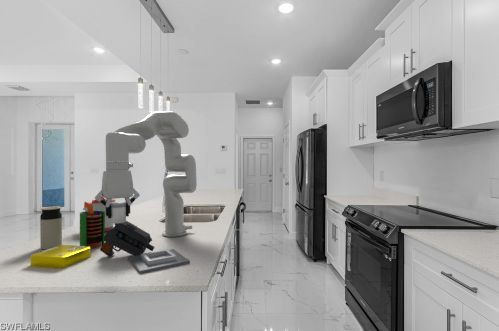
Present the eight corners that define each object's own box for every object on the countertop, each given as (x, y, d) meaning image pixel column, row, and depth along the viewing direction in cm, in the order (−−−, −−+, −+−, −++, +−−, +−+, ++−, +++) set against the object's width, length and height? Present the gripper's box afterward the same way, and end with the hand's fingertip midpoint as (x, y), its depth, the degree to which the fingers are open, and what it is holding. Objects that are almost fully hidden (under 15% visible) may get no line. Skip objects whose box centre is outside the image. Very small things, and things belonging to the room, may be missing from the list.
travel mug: (65, 246, 131) (65, 206, 131) (47, 250, 124) (47, 209, 124) (55, 244, 134) (54, 205, 134) (36, 248, 127) (36, 208, 127)
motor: (91, 250, 124) (91, 204, 124) (74, 249, 126) (73, 203, 126) (107, 243, 134) (107, 201, 134) (91, 243, 136) (90, 201, 136)
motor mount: (173, 251, 122) (173, 245, 122) (189, 263, 107) (189, 256, 107) (128, 259, 112) (128, 253, 112) (140, 273, 97) (139, 266, 97)
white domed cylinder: (124, 219, 107) (124, 201, 107) (127, 222, 103) (127, 202, 103) (109, 221, 104) (108, 202, 104) (111, 224, 100) (111, 204, 100)
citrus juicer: (94, 227, 170) (94, 193, 170) (121, 228, 168) (121, 194, 168) (74, 233, 155) (74, 196, 155) (104, 234, 152) (104, 197, 152)
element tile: (62, 254, 120) (62, 243, 120) (93, 256, 117) (92, 245, 117) (27, 267, 105) (27, 254, 105) (61, 270, 102) (61, 256, 102)
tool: (101, 247, 119) (119, 215, 119) (142, 268, 120) (160, 237, 121) (94, 251, 113) (114, 218, 113) (138, 274, 114) (157, 241, 115)
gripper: (139, 166, 111) (140, 212, 112) (89, 167, 102) (90, 218, 102) (144, 166, 105) (145, 215, 105) (91, 167, 95) (92, 221, 96)
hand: (118, 216), depth 104 cm, fingers closed on white domed cylinder, 5 cm apart
